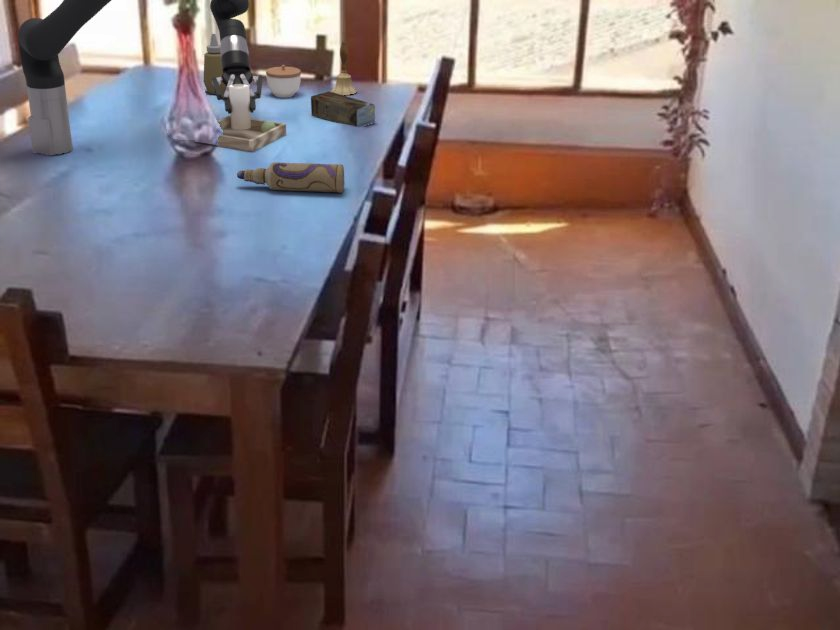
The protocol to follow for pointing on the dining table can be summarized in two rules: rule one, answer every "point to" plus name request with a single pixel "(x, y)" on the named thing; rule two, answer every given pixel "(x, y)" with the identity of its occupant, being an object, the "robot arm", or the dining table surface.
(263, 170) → the decorative bottle
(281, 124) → the tray
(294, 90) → the lidded jar
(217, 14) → the robot arm
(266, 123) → the green ball
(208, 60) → the squeeze bottle
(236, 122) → the white dome-topped cylinder
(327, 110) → the beverage carton
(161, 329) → the dining table surface
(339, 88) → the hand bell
